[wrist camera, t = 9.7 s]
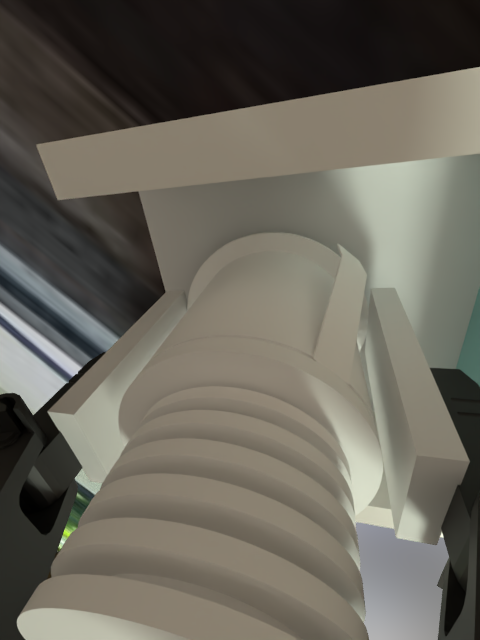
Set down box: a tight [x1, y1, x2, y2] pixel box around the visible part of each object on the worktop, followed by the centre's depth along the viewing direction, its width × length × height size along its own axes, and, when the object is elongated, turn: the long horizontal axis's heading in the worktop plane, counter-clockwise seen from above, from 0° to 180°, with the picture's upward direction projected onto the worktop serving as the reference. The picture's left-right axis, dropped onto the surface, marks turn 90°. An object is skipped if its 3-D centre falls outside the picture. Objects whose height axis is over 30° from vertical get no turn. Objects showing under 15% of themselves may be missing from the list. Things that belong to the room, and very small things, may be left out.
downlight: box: [17, 232, 383, 640], centre depth 8 cm, size 8×7×10 cm
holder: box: [36, 67, 480, 538], centre depth 11 cm, size 13×14×5 cm
